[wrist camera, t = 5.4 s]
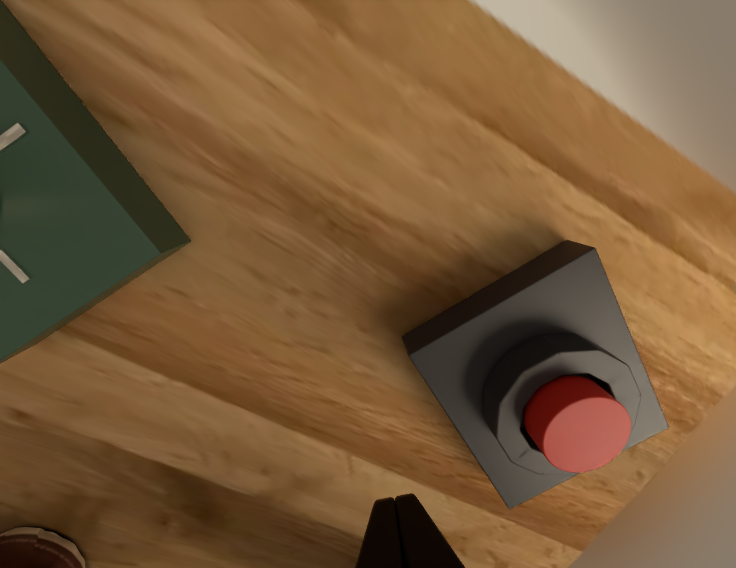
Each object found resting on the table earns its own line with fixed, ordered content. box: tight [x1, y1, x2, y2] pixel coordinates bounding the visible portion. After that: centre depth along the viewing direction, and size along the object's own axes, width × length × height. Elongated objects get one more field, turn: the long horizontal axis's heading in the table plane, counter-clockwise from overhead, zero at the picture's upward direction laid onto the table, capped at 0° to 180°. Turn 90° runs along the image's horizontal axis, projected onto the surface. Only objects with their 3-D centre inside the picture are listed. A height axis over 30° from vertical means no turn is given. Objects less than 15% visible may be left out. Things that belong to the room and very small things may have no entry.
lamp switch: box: [402, 240, 669, 509], centre depth 19 cm, size 12×10×4 cm
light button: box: [524, 375, 631, 473], centre depth 16 cm, size 4×4×2 cm
